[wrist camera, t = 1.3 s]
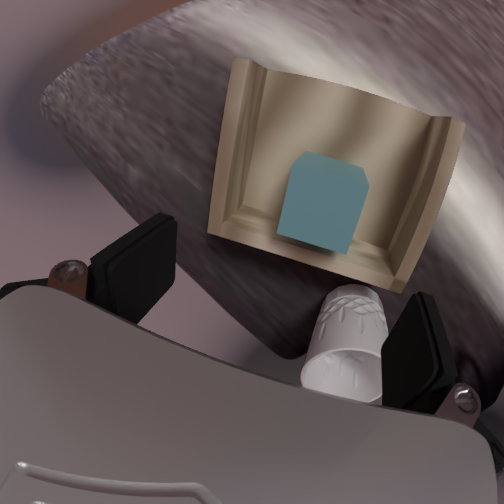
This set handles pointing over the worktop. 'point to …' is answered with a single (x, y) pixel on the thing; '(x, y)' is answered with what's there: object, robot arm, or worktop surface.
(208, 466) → the robot arm
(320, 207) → the teal block
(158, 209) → the worktop surface
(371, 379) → the white cup
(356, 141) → the birch box
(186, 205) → the worktop surface
